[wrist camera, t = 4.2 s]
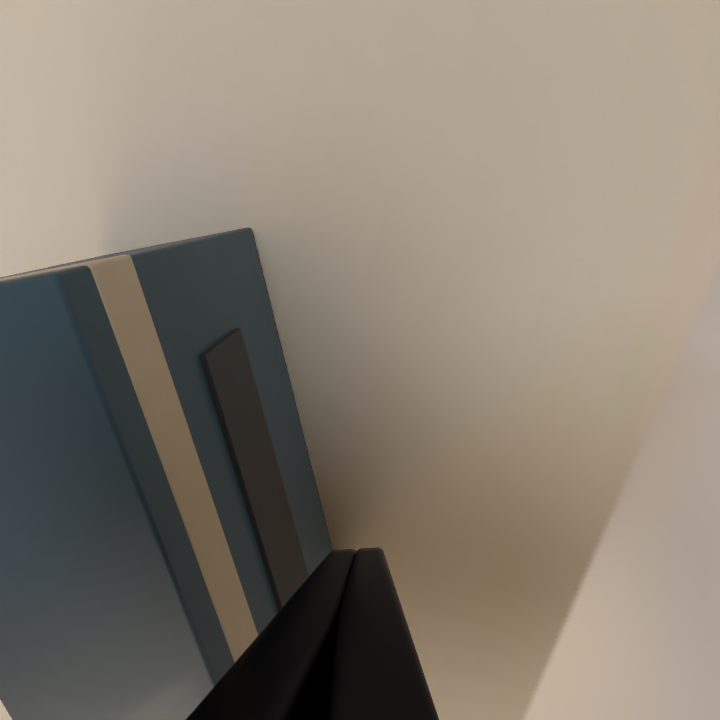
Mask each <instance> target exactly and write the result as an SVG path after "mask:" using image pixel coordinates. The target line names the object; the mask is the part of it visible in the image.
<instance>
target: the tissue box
mask: <svg viewBox="0 0 720 720" xmlns="http://www.w3.org/2000/svg"><path fill="white" fill-rule="evenodd" d="M331 551H332V547H331V544H330V540H329V536H328V532H327V528H326V524H325V520H324V516H323V512H322V508H321V504H320V500H319V496H318V492H317V488H316V484H315V480H314V476H313V472H312V468H311V464H310V460H309V456H308V452H307V448H306V444H305V440H304V436H303V432H302V428H301V424H300V420H299V416H298V412H297V408H296V404H295V400H294V396H293V392H292V388H291V384H290V380H289V376H288V372H287V368H286V364H285V360H284V356H283V352H282V348H281V344H280V340H279V336H278V332H277V328H276V324H275V320H274V316H273V312H272V308H271V304H270V300H269V296H268V292H267V288H266V284H265V281H264V277H263V273H262V269H261V265H260V261H259V257H258V253H257V249H256V245H255V241H254V237H253V233H252V229H251V228H243V229H238V230H233V231H228V232H223V233H218V234H212V235H207V236H202V237H197V238H192V239H187V240H182V241H177V242H171V243H166V244H161V245H156V246H151V247H146V248H141V249H135V250H130V251H125V252H120V253H115V254H110V255H105V256H99V257H95V258H90V259H85V260H81V261H76V262H71V263H67V264H62V265H57V266H53V267H48V268H43V269H38V270H34V271H29V272H24V273H20V274H15V275H10V276H6V277H1V278H0V700H1V701H2V703H3V705H4V706H5V708H6V710H7V711H8V713H9V715H10V716H11V718H12V720H186V719H187V718H188V716H189V715H190V714H191V713H192V712H193V711H194V710H195V708H196V707H197V706H198V705H199V704H200V703H201V701H202V700H203V699H204V698H205V697H206V696H207V694H208V693H209V692H210V691H211V690H212V689H213V687H214V686H215V685H216V684H217V683H218V682H219V680H220V679H221V678H222V677H223V676H224V675H225V673H226V672H227V671H228V670H229V669H230V668H231V667H232V665H233V664H234V663H235V662H236V661H237V660H238V658H239V657H240V656H241V655H242V654H243V653H244V651H245V650H246V649H247V648H248V647H249V646H250V644H251V643H252V642H253V641H254V640H255V639H256V637H257V636H258V635H259V634H260V633H261V632H262V631H263V629H264V628H265V627H266V626H267V625H268V624H269V622H270V621H271V620H272V619H273V618H274V617H275V615H276V614H277V613H278V612H279V611H280V610H281V608H282V607H283V606H284V605H285V604H286V603H287V601H288V600H289V599H290V598H291V597H292V596H293V594H294V593H295V592H296V591H297V590H298V589H299V588H300V586H301V585H302V584H303V583H304V582H305V581H306V579H307V578H308V577H309V576H310V575H311V574H312V572H313V571H314V570H315V569H316V568H317V567H318V565H319V564H320V563H321V562H322V561H323V560H324V558H325V557H326V556H327V555H328V554H329V553H330V552H331Z"/></svg>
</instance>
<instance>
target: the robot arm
mask: <svg viewBox="0 0 720 720" xmlns="http://www.w3.org/2000/svg"><path fill="white" fill-rule="evenodd" d="M186 720H439V718H438V715H437V712H436V709H435V706H434V703H433V700H432V697H431V694H430V691H429V688H428V685H427V682H426V679H425V676H424V673H423V670H422V667H421V664H420V661H419V658H418V655H417V652H416V649H415V646H414V643H413V640H412V637H411V634H410V631H409V628H408V625H407V622H406V619H405V616H404V613H403V610H402V607H401V604H400V601H399V598H398V595H397V592H396V589H395V586H394V583H393V580H392V577H391V574H390V571H389V567H388V564H387V561H386V558H385V555H384V553H383V550H382V549H381V548H379V547H376V548H361V549H359V550H358V551H357V552H356V551H355V550H354V549H345V550H334V551H331V552H330V553H329V554H328V555H327V556H326V557H325V558H324V560H323V561H322V562H321V563H320V564H319V565H318V567H317V568H316V569H315V570H314V571H313V572H312V574H311V575H310V576H309V577H308V578H307V579H306V581H305V582H304V583H303V584H302V585H301V586H300V588H299V589H298V590H297V591H296V592H295V593H294V594H293V596H292V597H291V598H290V599H289V600H288V601H287V603H286V604H285V605H284V606H283V607H282V608H281V610H280V611H279V612H278V613H277V614H276V615H275V617H274V618H273V619H272V620H271V621H270V622H269V624H268V625H267V626H266V627H265V628H264V629H263V631H262V632H261V633H260V634H259V635H258V636H257V637H256V639H255V640H254V641H253V642H252V643H251V644H250V646H249V647H248V648H247V649H246V650H245V651H244V653H243V654H242V655H241V656H240V657H239V658H238V660H237V661H236V662H235V663H234V664H233V665H232V667H231V668H230V669H229V670H228V671H227V672H226V673H225V675H224V676H223V677H222V678H221V679H220V680H219V682H218V683H217V684H216V685H215V686H214V687H213V689H212V690H211V691H210V692H209V693H208V694H207V696H206V697H205V698H204V699H203V700H202V701H201V703H200V704H199V705H198V706H197V707H196V708H195V710H194V711H193V712H192V713H191V714H190V715H189V716H188V718H187V719H186Z"/></svg>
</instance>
